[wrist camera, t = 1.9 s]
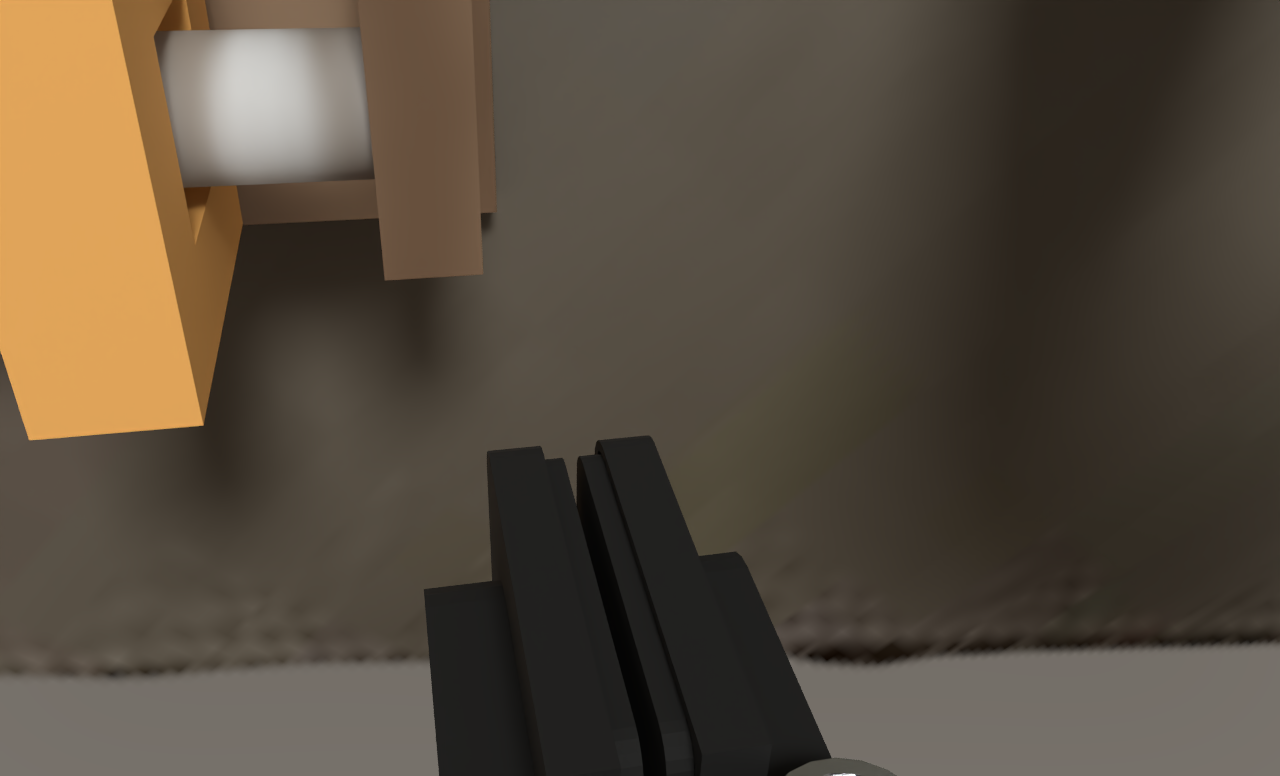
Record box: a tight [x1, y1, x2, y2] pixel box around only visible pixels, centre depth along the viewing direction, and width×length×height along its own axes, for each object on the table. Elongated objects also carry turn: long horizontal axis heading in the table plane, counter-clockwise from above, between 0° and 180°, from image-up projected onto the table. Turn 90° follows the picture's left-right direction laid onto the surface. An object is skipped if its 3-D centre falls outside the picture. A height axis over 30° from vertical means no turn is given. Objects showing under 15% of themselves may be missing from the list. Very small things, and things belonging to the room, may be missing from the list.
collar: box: [0, 0, 243, 440], centre depth 22 cm, size 3×9×9 cm, turn 178°
